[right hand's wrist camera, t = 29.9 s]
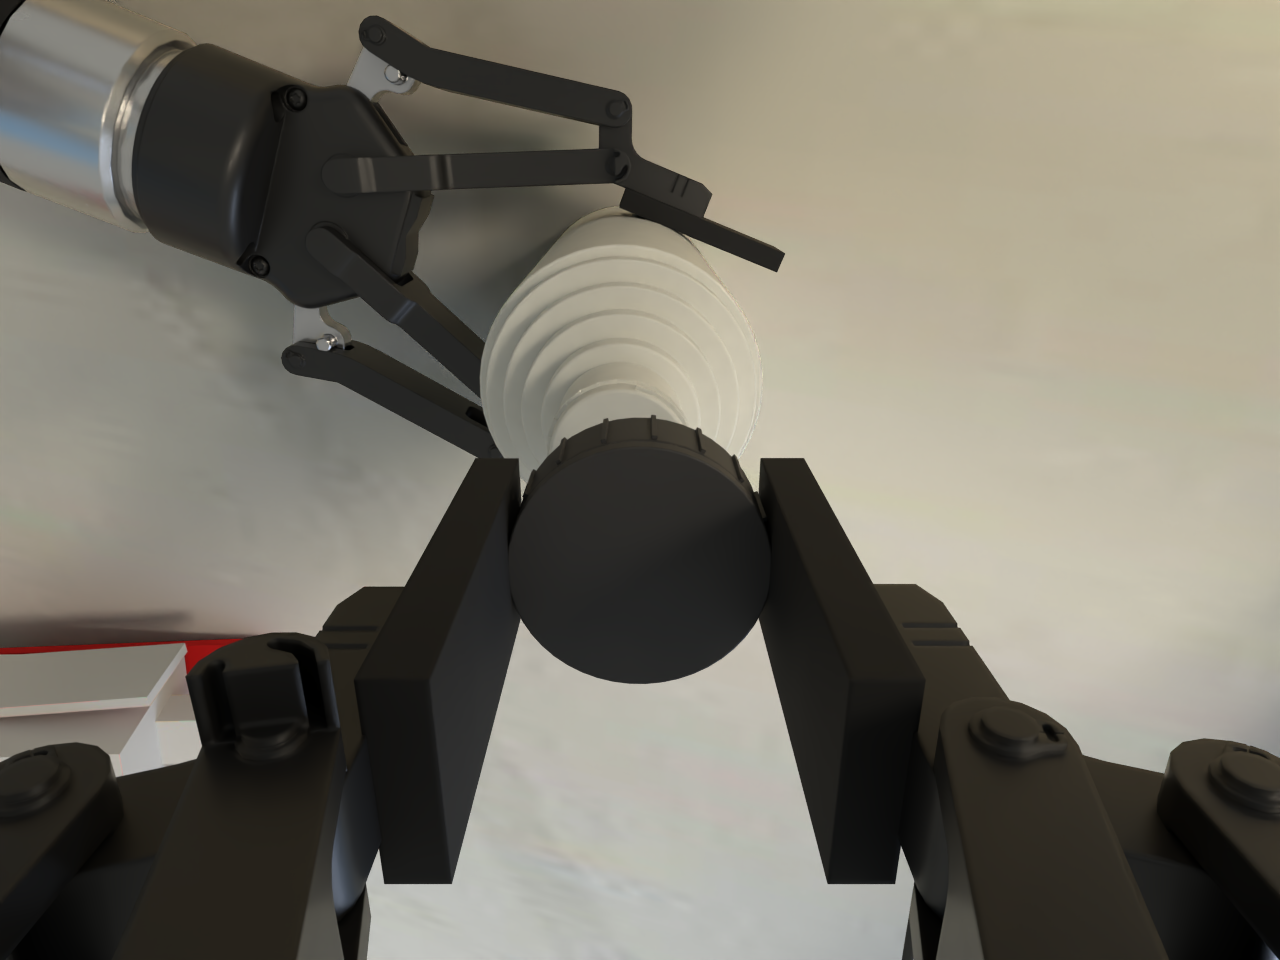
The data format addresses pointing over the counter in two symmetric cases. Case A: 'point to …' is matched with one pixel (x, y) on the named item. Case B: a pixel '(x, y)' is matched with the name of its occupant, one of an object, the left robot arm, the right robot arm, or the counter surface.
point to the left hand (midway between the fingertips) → (731, 357)
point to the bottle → (618, 342)
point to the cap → (639, 552)
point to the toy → (103, 700)
